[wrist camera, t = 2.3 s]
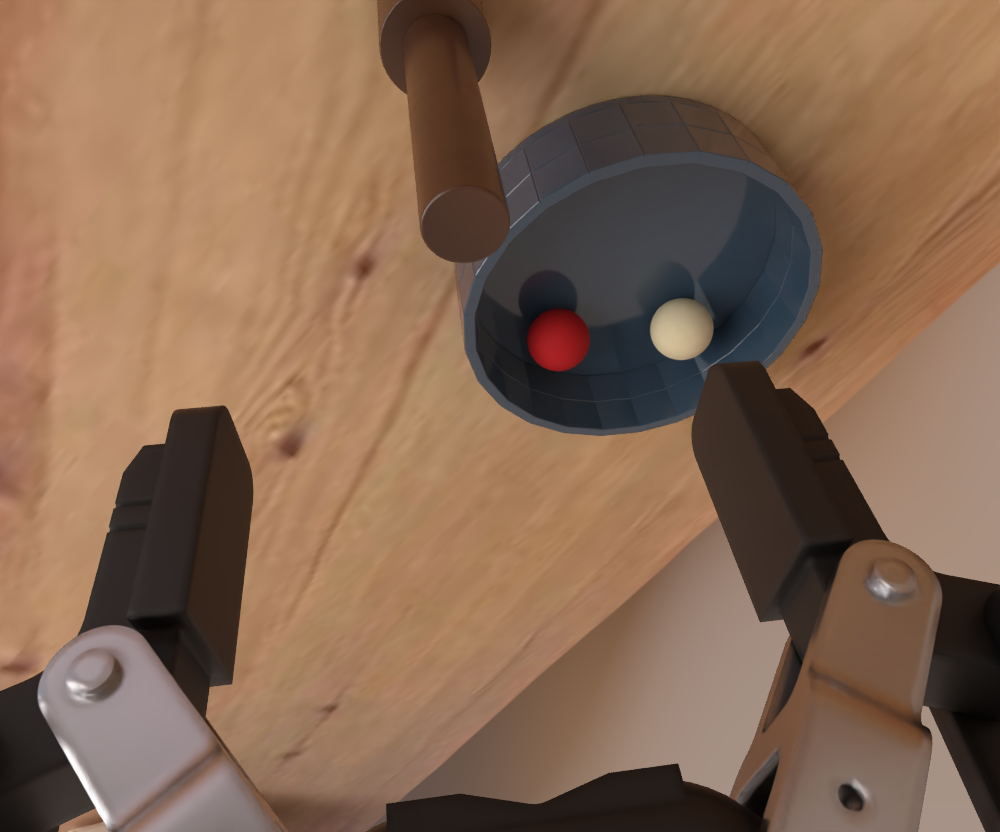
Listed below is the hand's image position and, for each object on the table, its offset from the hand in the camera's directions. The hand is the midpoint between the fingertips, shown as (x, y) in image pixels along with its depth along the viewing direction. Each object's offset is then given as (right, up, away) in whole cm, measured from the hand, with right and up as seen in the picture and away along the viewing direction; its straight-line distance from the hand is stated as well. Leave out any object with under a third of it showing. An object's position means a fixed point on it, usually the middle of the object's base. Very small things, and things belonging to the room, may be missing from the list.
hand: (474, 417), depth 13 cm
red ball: (+3, +4, +23) cm, 23 cm away
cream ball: (+9, +4, +23) cm, 26 cm away
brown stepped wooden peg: (-2, +15, +13) cm, 20 cm away
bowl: (+6, +8, +22) cm, 24 cm away
